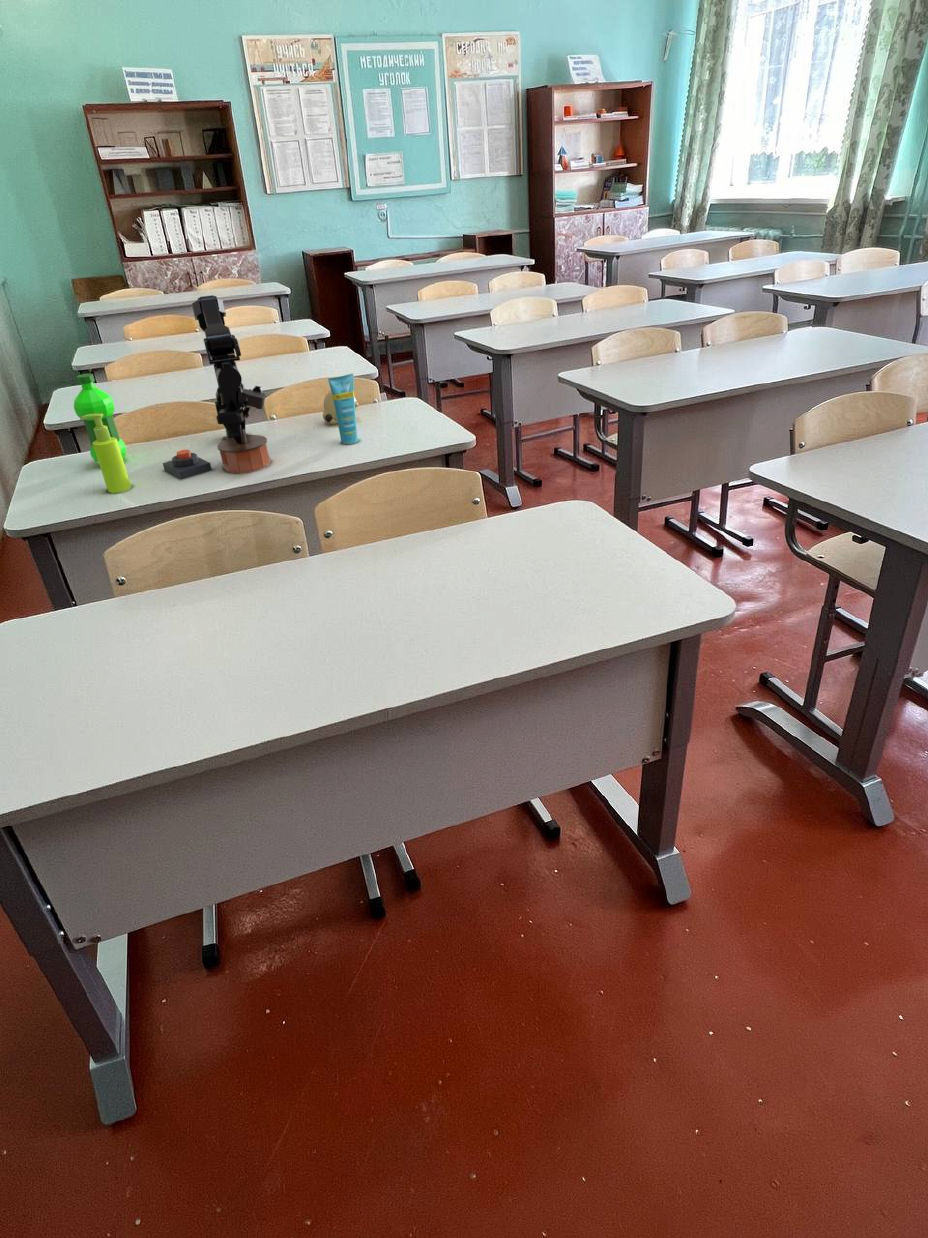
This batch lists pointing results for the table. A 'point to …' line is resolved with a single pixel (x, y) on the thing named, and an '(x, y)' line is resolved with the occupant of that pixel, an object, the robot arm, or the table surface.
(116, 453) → the soap dispenser
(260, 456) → the round brown pot
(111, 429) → the plastic bottle
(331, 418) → the toy pig
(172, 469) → the box
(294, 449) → the table surface
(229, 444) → the lid
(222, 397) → the robot arm
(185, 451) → the button
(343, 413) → the tube
